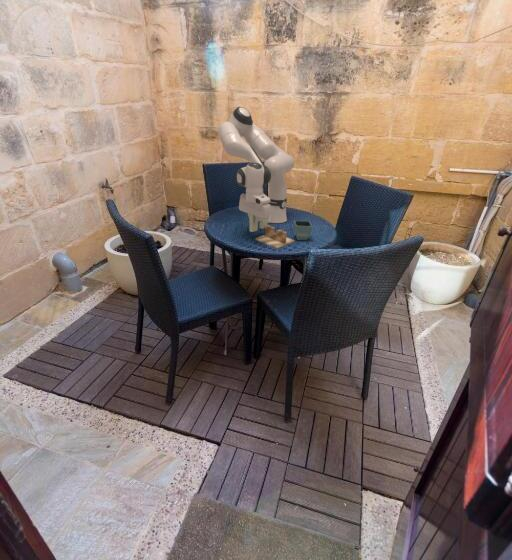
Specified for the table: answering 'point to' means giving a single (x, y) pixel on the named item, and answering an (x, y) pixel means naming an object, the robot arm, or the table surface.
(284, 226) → the table surface
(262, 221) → the slot plate
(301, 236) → the flower pot
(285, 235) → the tan piece
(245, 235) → the table surface
